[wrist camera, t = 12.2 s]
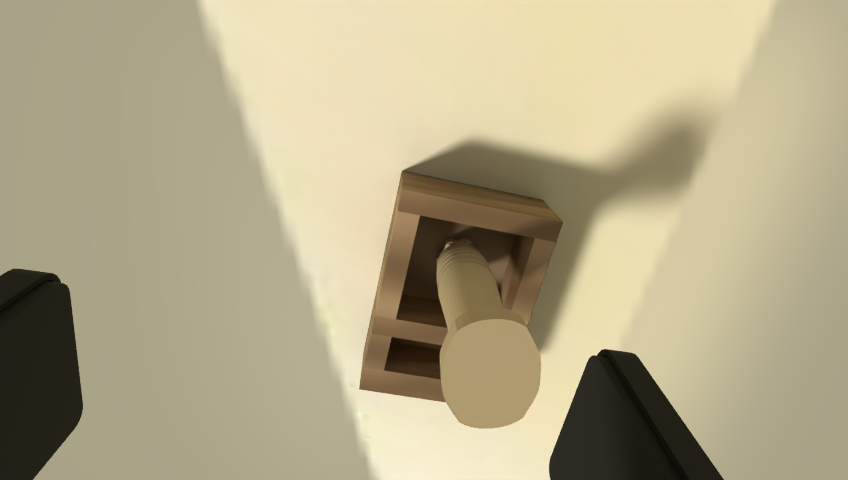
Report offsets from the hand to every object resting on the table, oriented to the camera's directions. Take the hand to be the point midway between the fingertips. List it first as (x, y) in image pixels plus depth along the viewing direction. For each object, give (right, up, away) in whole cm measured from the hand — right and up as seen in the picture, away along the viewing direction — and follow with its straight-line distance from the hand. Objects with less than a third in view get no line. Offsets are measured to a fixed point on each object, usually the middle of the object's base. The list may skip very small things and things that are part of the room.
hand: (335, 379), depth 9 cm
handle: (+4, +2, +29) cm, 29 cm away
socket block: (+4, -1, +31) cm, 31 cm away
